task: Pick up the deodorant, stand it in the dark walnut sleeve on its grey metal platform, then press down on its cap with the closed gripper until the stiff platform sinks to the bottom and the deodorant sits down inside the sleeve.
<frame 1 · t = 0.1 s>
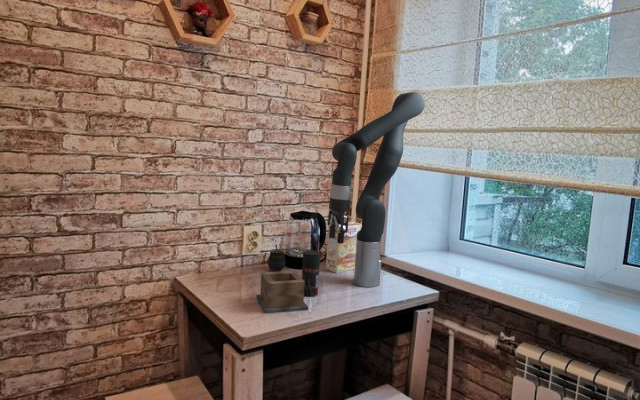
hand: (335, 240, 160), 17 cm above the table, tool pointing down, fingers open, 8 cm apart
sleeve holder: (281, 303, 142), on the table
coffeecake box: (343, 269, 186), on the table
mate gourd: (275, 270, 179), on the table
deodorant: (309, 294, 153), on the table
press platform: (281, 287, 141), point 5 cm above the table, slide at 0.0 cm
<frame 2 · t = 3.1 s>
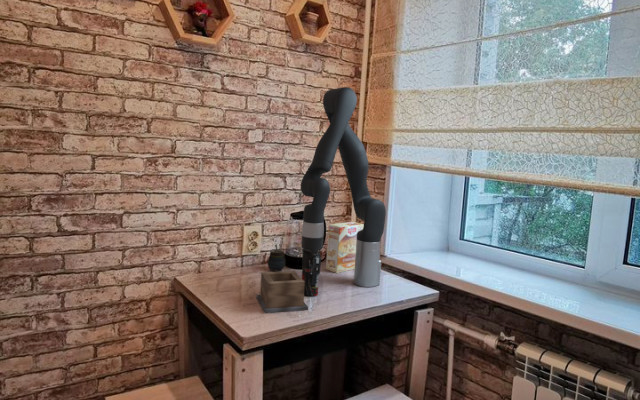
hand: (310, 281, 152), 5 cm above the table, tool pointing down, fingers closed on deodorant, 6 cm apart
deodorant: (309, 294, 153), on the table, touching gripper
everything else where it was.
when the fingers open (12 cm above the table, at t = 8.8 s): deodorant drops 5 cm, resting on press platform.
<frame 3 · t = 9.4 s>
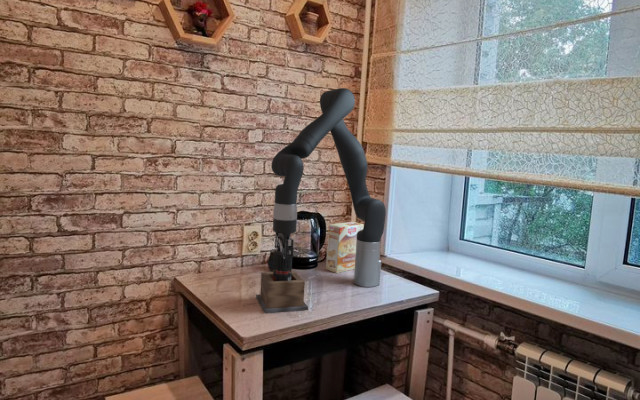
hand: (282, 266, 140), 13 cm above the table, tool pointing down, fingers open, 8 cm apart
deodorant: (281, 298, 142), point 2 cm above the table, touching press platform
press platform: (281, 299, 142), point 2 cm above the table, slide at 4.0 cm, touching deodorant
everything else where it was.
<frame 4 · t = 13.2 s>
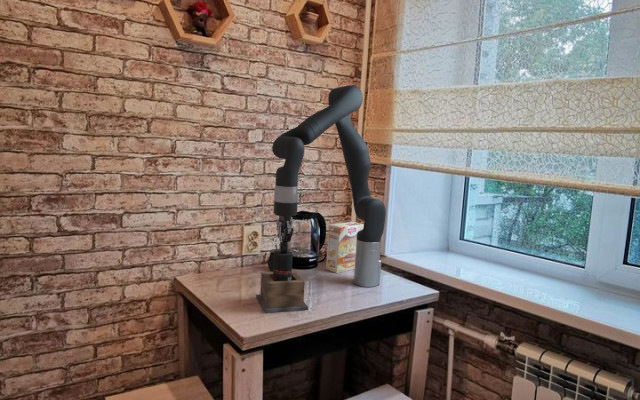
hand: (283, 253, 140), 17 cm above the table, tool pointing down, fingers closed
deodorant: (281, 298, 142), point 2 cm above the table, touching gripper, press platform
everything else where it was.
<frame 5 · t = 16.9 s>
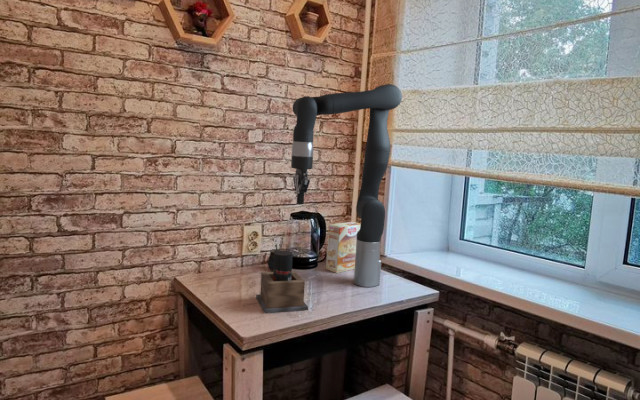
hand: (299, 203, 154), 31 cm above the table, tool pointing down, fingers closed
deodorant: (281, 298, 142), point 2 cm above the table, touching press platform
everything else where it was.
at the end: press platform slide at 4.0 cm; deodorant 0.1 cm off-centre on the sleeve holder, point 1.8 cm above the sleeve holder's base; deodorant tilted 0° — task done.
